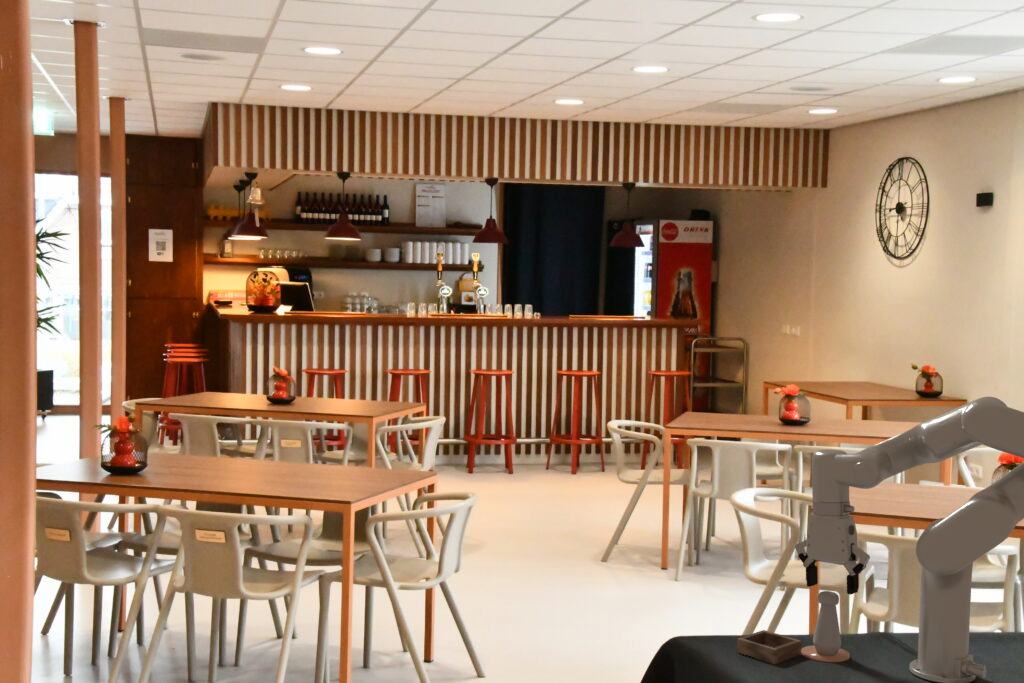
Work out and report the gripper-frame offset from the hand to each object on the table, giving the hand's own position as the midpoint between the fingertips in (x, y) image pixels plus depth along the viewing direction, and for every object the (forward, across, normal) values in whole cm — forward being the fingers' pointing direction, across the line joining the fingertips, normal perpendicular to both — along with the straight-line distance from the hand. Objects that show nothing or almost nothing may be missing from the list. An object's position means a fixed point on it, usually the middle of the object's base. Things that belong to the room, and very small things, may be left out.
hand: (832, 589), depth 240 cm
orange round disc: (+14, +2, 0) cm, 14 cm away
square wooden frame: (+14, +10, +10) cm, 19 cm away
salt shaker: (+14, +1, 0) cm, 14 cm away
